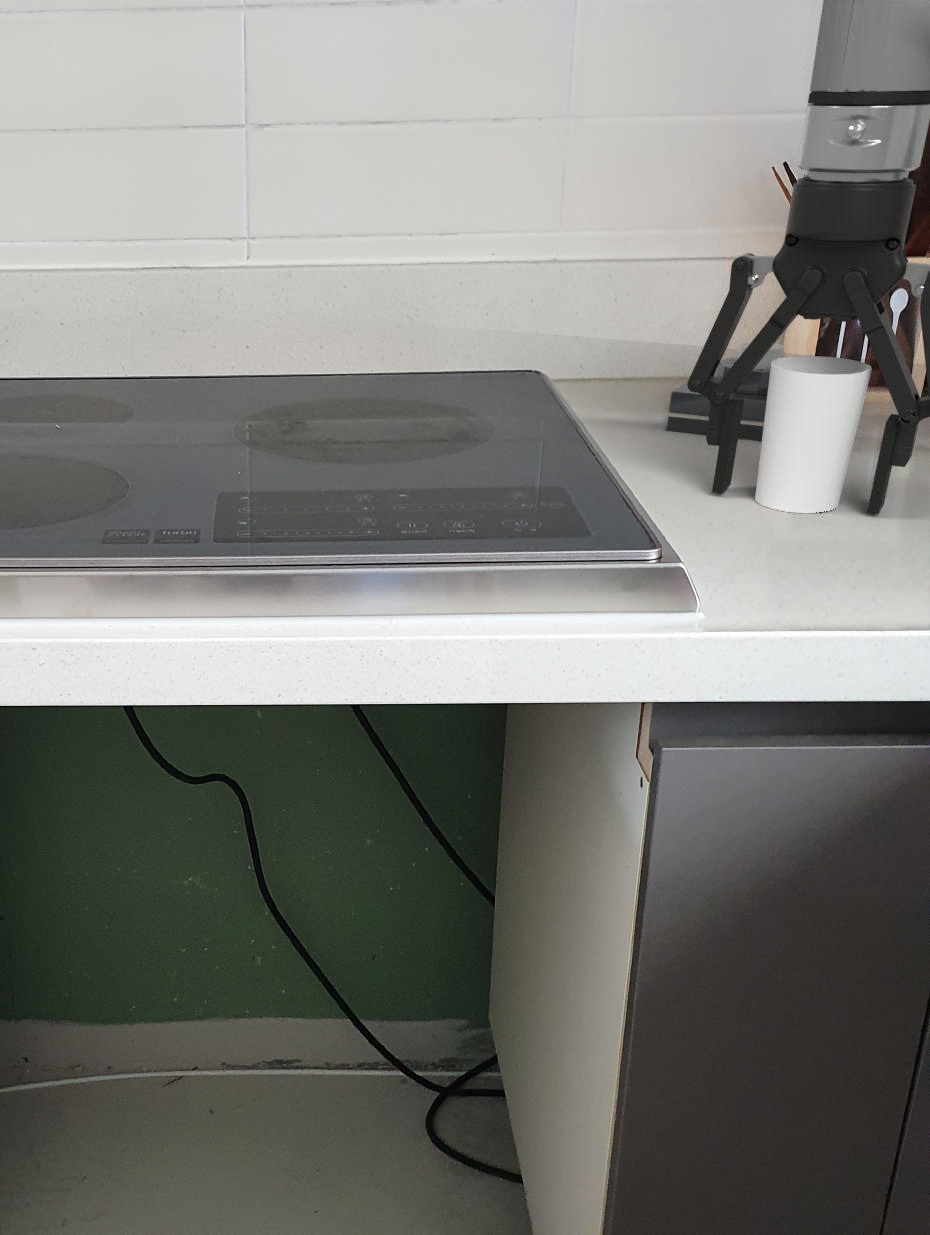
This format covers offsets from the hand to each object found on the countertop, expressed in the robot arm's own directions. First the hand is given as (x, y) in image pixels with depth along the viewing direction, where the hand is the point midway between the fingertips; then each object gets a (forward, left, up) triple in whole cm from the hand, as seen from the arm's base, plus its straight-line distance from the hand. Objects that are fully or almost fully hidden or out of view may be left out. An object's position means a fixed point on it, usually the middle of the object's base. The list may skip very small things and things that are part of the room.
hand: (796, 498), depth 100 cm
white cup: (0, 0, 0) cm, 0 cm away
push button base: (+8, -22, 0) cm, 23 cm away
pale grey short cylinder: (+8, -22, +5) cm, 24 cm away
